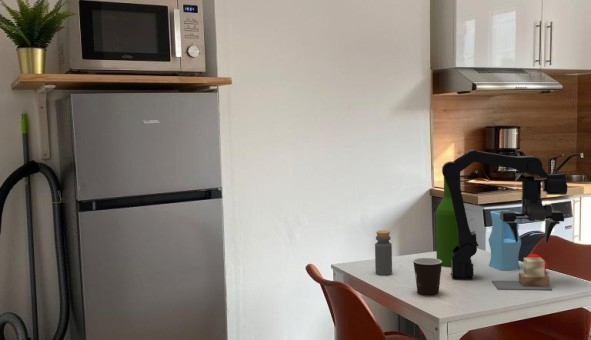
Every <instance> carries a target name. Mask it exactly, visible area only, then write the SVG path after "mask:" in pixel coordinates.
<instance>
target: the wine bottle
mask: <svg viewBox="0 0 591 340" xmlns="http://www.w3.org/2000/svg"><path fill="white" fill-rule="evenodd" d="M437 206H438V207H437V208H436V211H435V232H436V233H435V234H436V235H435V236H436V237H435V241H436V242H435V243H436V244H435V245H436V247H435V248H436V252H435V253H436V259H439V260H441V261H442V266H441V267H444V268H451V258H453V254H452V250H453V249H454V248H455V247H456V246H457V245H458V226H457V222H456V217H455V213H454V208H453V203H452V199H451V194H450V190H449V188H448V185H447V183H446V181H445V178H444V177H443V197H442V199H441V201H440V203H439V204H438V205H437Z"/></svg>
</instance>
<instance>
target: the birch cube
mask: <svg viewBox="0 0 591 340" xmlns="http://www.w3.org/2000/svg"><path fill="white" fill-rule="evenodd" d="M541 258H542V257H541ZM541 258H526V257H523V273H524V274H525V275H526V276H527V277H545V274H546V273H545V272H546V270H545V262H546V260H545V261H543V260H542V259H541Z"/></svg>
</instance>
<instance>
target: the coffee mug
mask: <svg viewBox="0 0 591 340" xmlns="http://www.w3.org/2000/svg"><path fill="white" fill-rule="evenodd" d="M412 263H413V268H414V276H415V277H414V278H415V284H416V292H417V294H418V295H420V296H425V297H434V296H438V295H439V293H440V285H441V284H440V283H441V275H442V267H443V266H442V261H441V260H439V259H437V258H434V257H420V258H419V257H418V258H415V259H413V261H412Z"/></svg>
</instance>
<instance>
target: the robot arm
mask: <svg viewBox="0 0 591 340" xmlns="http://www.w3.org/2000/svg"><path fill="white" fill-rule="evenodd" d="M474 163H480V164H486V165H493V166H500V167H504V168H510V169H513V170H516V171H519V172H520V174H519V175H518V176H516V178H515V181H517V182H521V198H520V199H521V212H519V213H515V212H516V211H514V212H513V210H509V211H502V210H500V211H501V213H500V219H501V220H502V221H504V222H505V223H507V224H509V226H510V228H511V230H512V233H513V236H514V238H515V241H516V242H518V234H517V222H515V220H516V219H519V220H529V221H531V222H536V221H540V222H544V223H545V224H544V243H548V241H549V240H550V236H551V234H552V231H553V230H554V228H555V226H556V225H559V224H560V223H561V222H565V214H564V213H563V212H562V211H559V210H558V209H557V210H553V206H552V205H551V204H545V205H543V201H542V192H544V193H545V194H546V195H548V196H555V195H556V196H561V195H562V196H566V195H567V194H568V184H567V179H566V178H567V177H566V174H565V173H555V174H554V173H553V174H551V173H550V174H548V172H547V171H546V170H545V169H544V168H543V162H542V161H541V160H540V158H538V157H536V156H532V155H517V156H516V155H515V156H512V155H511V156H510V155H504V154H499V153H492V152H486V151H482V150H481V151H479V150H477V149H476V150H475V149H469V150H467V152H466V153H464V154H463V155H461V156H459V157H458V158H455V159H454V160H453V161H451V160H450V161H447V162H445V163H443V165H442V167H441V172H442V176H443V179H444V178H445V181H446V183H447V185H448V188H449V190H450V194H451V199H452V203H453V208H454V213H455V217H456V222H457V226H458V245H457V246H456V247H455V248H454V249H453V250H452V254H453V258H451V267H450V269H451V273H450V276H451V278H452V280H473V279H474V278H473V277H474V263H473V262H472V259H471V258H472V257H474V255H476V253H477V251H478V248H477V247H479V243H478V241H477V234H476V231H475V230H473V231H471V229H470V227H469V226H470V225H469V221H468V217H467V212H466V207H465V203H464V199H463V194H462V189H461V172H463V171H464V170H465V169H467V168H468V167H469V166H470V165H472V164H474ZM521 172H522V173H525V174H527V175H523V174H522V173H521ZM534 176H537V177H539V178H535V177H534Z"/></svg>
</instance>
